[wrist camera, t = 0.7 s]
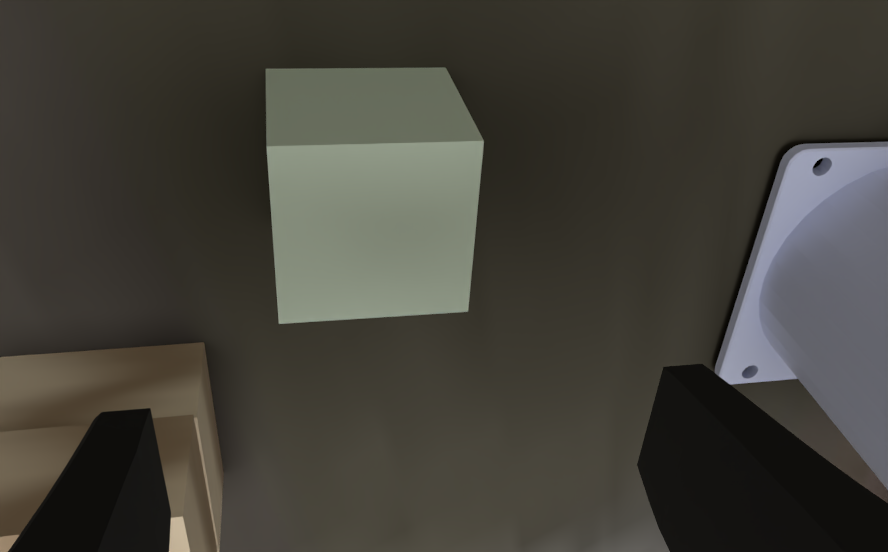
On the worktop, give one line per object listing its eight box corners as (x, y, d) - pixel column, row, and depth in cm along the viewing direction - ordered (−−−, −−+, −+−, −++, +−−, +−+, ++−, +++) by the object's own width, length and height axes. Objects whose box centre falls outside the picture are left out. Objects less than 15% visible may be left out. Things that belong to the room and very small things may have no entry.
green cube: (444, 66, 18) (483, 141, 15) (435, 218, 21) (468, 311, 17) (265, 67, 18) (266, 146, 14) (275, 225, 20) (278, 323, 17)
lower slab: (204, 338, 22) (196, 417, 19) (223, 468, 24) (219, 551, 22) (1, 352, 21) (-33, 437, 18) (46, 486, 24) (20, 575, 21)
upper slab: (193, 414, 19) (183, 516, 17) (217, 550, 22) (211, 653, 19) (-38, 435, 18) (-84, 546, 16) (18, 573, 21) (-14, 685, 19)
